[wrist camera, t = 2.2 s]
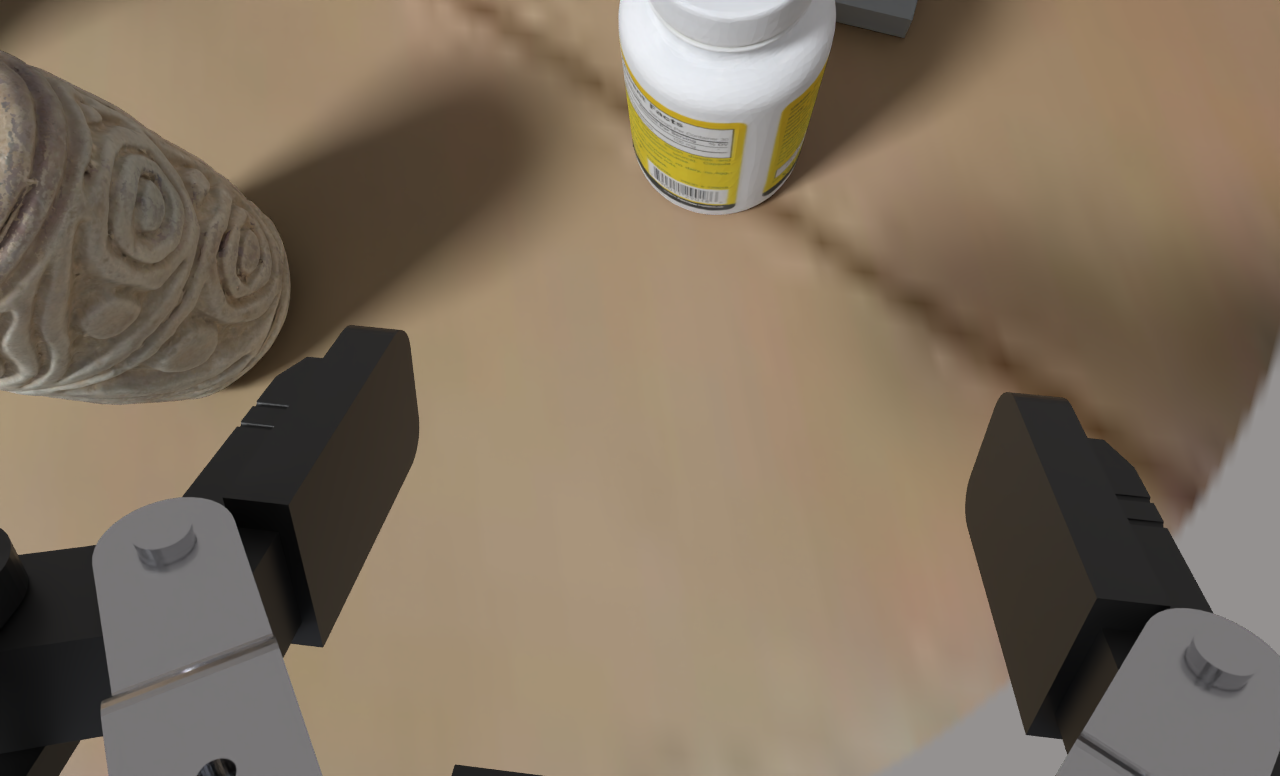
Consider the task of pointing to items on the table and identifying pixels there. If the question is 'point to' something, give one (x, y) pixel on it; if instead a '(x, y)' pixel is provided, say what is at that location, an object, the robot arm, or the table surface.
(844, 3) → the holder board
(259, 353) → the carving
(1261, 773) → the robot arm
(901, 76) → the table surface
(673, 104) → the supplement bottle
